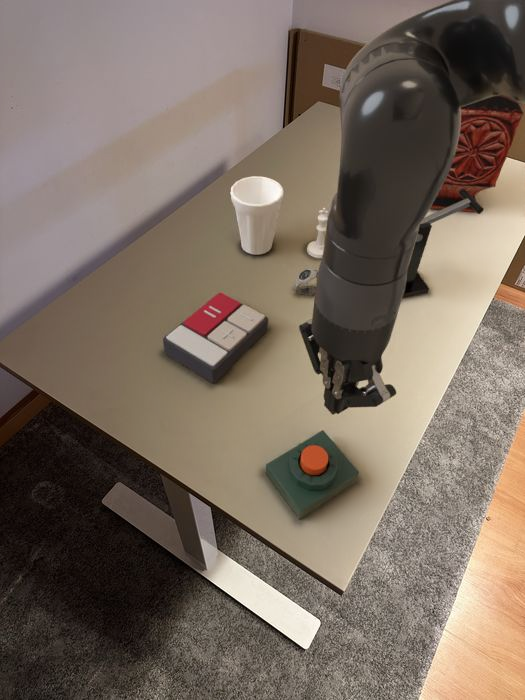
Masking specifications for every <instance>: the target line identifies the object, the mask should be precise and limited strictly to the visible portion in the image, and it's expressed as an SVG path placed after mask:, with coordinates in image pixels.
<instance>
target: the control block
mask: <svg viewBox="0 0 525 700" xmlns="http://www.w3.org/2000/svg"><path fill="white" fill-rule="evenodd" d="M311 445H316V446H320V447H322V448H323V449H324V450H325V451H326V452H327V454H328V464H327V468H326V470H325V471H324V472H323V473H322V474H320V475H316V476H313V475H309V474H307V473H305V472H304V471H303V469H302V468H301V465H300V459H301V454H302V451H303V450H304V449H305V448H306V447H308V446H311ZM265 475H266V476H267V478H268V479H269V480H270V482H271V483H272V484H273V486H274V487H275V488H276V490H277V491H278V493H279V494H280V495H281V497H282V498H283V500H284V501H285V502H286V504H287V505H288V507H289V508H290V509H291V510H292V512H293V513H294V515H295V516H296V518H297V519H298V520H301V519H303V518H304V517H306V516H307V515H309V514H310V513H312V512H313V511H315V510H316V509H317V508H319V507H321V506H322V505H323V504H324V503H326V502H328V501H329V500H331V499H333V498H334V497H335V496H337V495H338V494H339V493H341V492H343V491H344V490H346V489H347V488H349V487H350V486H352V485H353V484H355V483H356V482H357V481H358V478H359V475H360V471H359V469H357V468H356V467H355V465H354V464H353V463H352V462H351V460H350V459H349V458H348V457H347V456H346V455H345V454H344V453H343V451H342V450H341V449H340V447H338V446H337V444H336V443H335V442H334V441H333V439H332V438H331V437H330V436H329V435H328V434H327V433H326V432H325V430H324V429H322V430H320V431H319V432H317V433H316V434H314V435H312V436H311V437H309V438H308V439H306V440H303V441H302V442H300V443H299V444H298V445H296V446H294V447H292V448H291V449H288V451H286V452H284V453H282V454H281V455H280V456H278V457H276V458H274V459H273V460H271V461H270V462H268V463H266V464H265Z"/></svg>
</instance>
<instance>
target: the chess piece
mask: <svg viewBox="0 0 525 700" xmlns="http://www.w3.org/2000/svg"><path fill="white" fill-rule="evenodd" d="M328 213H329V210H326V207H322V210H318V214H319V215H317V220H318V224H317V225H316V227H315V229H316V230H317V232H318V233H317V237H316V240H313V241H311V242H309V243H308V245H307V247H306V253H307V254H308V255H309V256H310V257H312V258H316V259H322V256H323V250H324V242H325V232H326V226H327V219H328Z"/></svg>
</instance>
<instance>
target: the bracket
mask: <svg viewBox="0 0 525 700" xmlns="http://www.w3.org/2000/svg"><path fill="white" fill-rule="evenodd" d="M432 227H433V225H432V223H431V224H430V223H424V224H420V225H419V230H418V235H417V239H416V242H415V245H414V249H413V252H412V256H411V259H410V263H409V266H408V270H407V279H406V286H405V290H404V294H403V297H402V299H406V298H407V299H408V298H412V297H417V296H421V295H427V294H429V292H430V287H429V286H428V284H427V283H426V282H425V281H424V279H423V278H422V276H421V275H420V273H419V272H418V270H419V267H420V264H421V262H422V258H423V255H424V252H425V249H426V246H427V242H428V239H429V236H430V234H431V230H432Z"/></svg>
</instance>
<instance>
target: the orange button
mask: <svg viewBox="0 0 525 700" xmlns="http://www.w3.org/2000/svg"><path fill="white" fill-rule="evenodd" d="M327 464H328V454H327V452H326V451H325V450H324V449H323V448H322V447H320V446H316V445H311V446H308V447H306V448H305V449H304V450H303V451H302V454H301V459H300V465H301V468H302V469H303V471H304V472H305V473H307V474H309V475H313V476H316V475H320V474H322V473H323V472H324V471H325V470H326V468H327Z"/></svg>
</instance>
